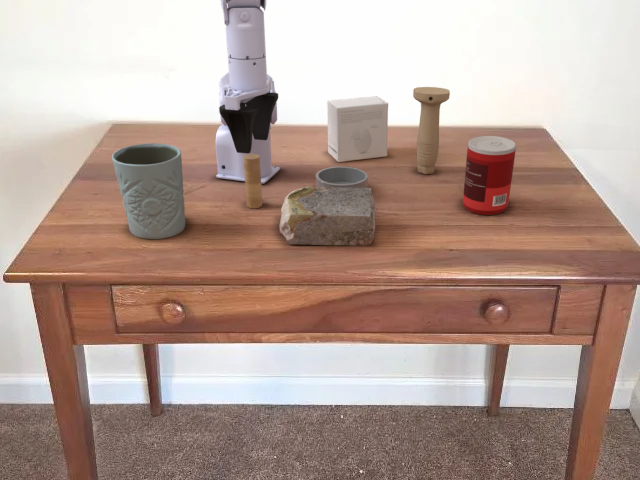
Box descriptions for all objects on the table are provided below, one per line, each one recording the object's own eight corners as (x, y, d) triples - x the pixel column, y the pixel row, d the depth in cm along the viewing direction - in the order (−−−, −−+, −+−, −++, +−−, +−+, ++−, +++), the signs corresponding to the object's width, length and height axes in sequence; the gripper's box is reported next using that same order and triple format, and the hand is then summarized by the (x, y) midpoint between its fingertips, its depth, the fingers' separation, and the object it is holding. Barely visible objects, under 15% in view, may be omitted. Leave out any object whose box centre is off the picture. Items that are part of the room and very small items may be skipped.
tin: (308, 197, 128) (308, 181, 126) (325, 179, 135) (325, 164, 134) (358, 204, 126) (359, 187, 124) (373, 185, 133) (373, 169, 132)
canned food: (511, 201, 128) (519, 138, 122) (503, 219, 122) (511, 153, 116) (467, 195, 130) (473, 133, 124) (457, 212, 124) (463, 147, 118)
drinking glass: (156, 247, 111) (145, 169, 104) (109, 231, 115) (96, 155, 109) (203, 223, 118) (195, 150, 112) (156, 209, 123) (146, 138, 116)
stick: (244, 207, 124) (240, 158, 119) (250, 201, 126) (247, 152, 122) (258, 209, 123) (255, 159, 119) (264, 203, 126) (262, 154, 121)
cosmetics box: (375, 146, 151) (377, 94, 145) (387, 157, 146) (389, 103, 140) (326, 152, 148) (326, 98, 142) (337, 162, 143) (337, 107, 137)
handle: (442, 177, 137) (449, 95, 129) (408, 175, 138) (412, 93, 130) (443, 168, 141) (450, 88, 133) (409, 166, 142) (414, 86, 134)
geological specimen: (380, 215, 110) (278, 210, 108) (376, 251, 113) (277, 248, 112) (374, 186, 119) (280, 181, 117) (371, 220, 122) (279, 217, 121)
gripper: (240, 47, 119) (245, 132, 126) (202, 63, 107) (210, 156, 113) (281, 49, 117) (285, 135, 124) (248, 66, 105) (254, 160, 112)
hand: (252, 145), depth 119 cm, fingers open, 7 cm apart
